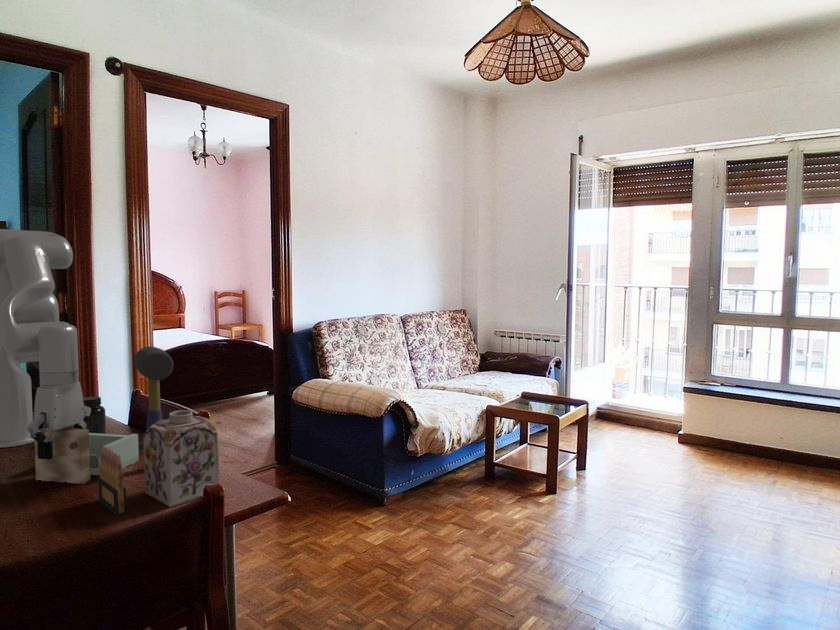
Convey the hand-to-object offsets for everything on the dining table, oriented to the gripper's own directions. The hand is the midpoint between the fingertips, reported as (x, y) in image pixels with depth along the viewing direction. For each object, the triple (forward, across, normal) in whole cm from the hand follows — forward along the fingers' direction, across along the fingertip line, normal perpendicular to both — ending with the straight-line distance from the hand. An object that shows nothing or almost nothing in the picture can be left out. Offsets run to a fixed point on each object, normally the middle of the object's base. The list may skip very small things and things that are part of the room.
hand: (62, 452), depth 128 cm
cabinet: (+7, -10, 0) cm, 12 cm away
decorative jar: (+7, +2, +31) cm, 32 cm away
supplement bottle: (+6, -29, -16) cm, 34 cm away
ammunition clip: (+7, +11, +21) cm, 24 cm away
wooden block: (+7, 0, 0) cm, 7 cm away
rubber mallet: (+7, -11, +16) cm, 20 cm away
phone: (+7, -21, 0) cm, 22 cm away
